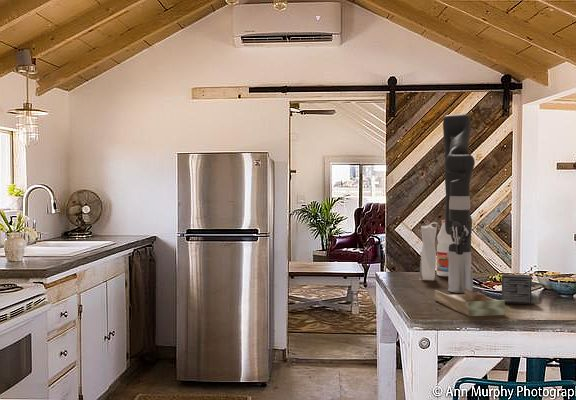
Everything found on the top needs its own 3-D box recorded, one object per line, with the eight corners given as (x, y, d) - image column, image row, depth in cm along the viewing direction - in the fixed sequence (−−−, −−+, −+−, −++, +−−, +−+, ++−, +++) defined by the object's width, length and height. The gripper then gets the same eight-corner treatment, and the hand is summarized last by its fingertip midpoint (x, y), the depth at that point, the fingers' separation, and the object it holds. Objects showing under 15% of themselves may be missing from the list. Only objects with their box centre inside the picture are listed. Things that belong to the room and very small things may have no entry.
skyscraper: (437, 278, 276) (437, 221, 275) (437, 281, 268) (438, 222, 267) (419, 278, 277) (419, 221, 277) (419, 280, 270) (419, 222, 269)
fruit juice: (453, 273, 289) (453, 219, 289) (458, 276, 280) (458, 220, 279) (434, 273, 290) (435, 219, 289) (438, 276, 280) (439, 220, 280)
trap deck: (466, 299, 224) (466, 286, 224) (504, 314, 197) (504, 300, 197) (434, 300, 222) (434, 287, 222) (468, 316, 194) (469, 301, 194)
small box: (530, 301, 220) (530, 274, 219) (531, 305, 213) (531, 277, 213) (501, 299, 223) (501, 273, 223) (501, 303, 217) (502, 276, 217)
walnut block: (478, 306, 202) (478, 292, 202) (485, 308, 197) (485, 294, 197) (465, 306, 201) (465, 292, 201) (472, 309, 196) (472, 295, 196)
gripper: (477, 209, 204) (477, 256, 204) (460, 207, 217) (460, 251, 217) (458, 209, 202) (458, 257, 203) (442, 207, 215) (442, 252, 216)
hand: (459, 254), depth 210 cm, fingers closed
